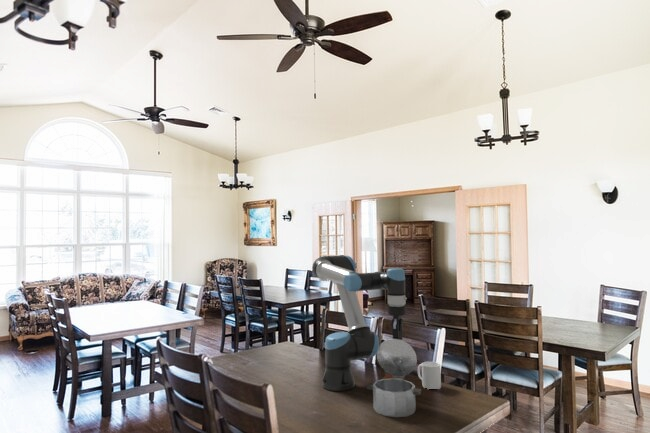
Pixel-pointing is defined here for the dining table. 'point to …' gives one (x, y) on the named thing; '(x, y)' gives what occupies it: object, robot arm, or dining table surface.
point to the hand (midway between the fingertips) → (398, 361)
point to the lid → (396, 357)
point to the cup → (430, 375)
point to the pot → (394, 397)
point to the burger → (390, 377)
